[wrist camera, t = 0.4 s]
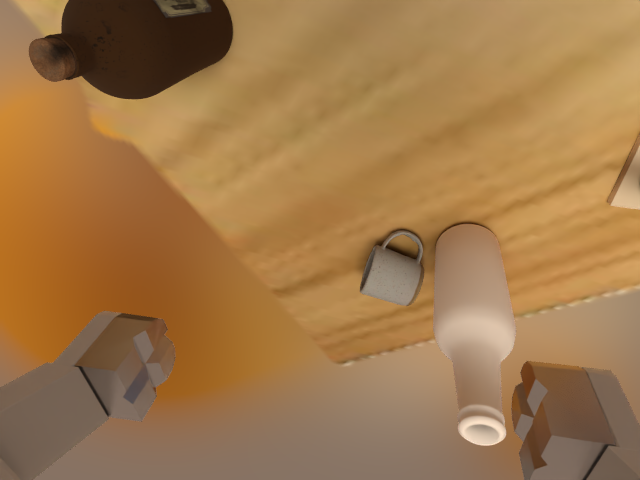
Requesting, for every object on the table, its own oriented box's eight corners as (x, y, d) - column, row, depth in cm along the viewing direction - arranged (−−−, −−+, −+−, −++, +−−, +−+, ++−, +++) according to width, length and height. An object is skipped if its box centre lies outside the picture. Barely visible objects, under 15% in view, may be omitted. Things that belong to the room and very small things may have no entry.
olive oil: (227, 82, 56) (103, 148, 35) (156, 47, 55) (-8, 93, 35) (247, -1, 49) (111, 21, 29) (168, -40, 49) (-25, -46, 29)
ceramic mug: (410, 288, 67) (407, 320, 61) (363, 271, 67) (355, 301, 61) (436, 237, 61) (435, 267, 55) (383, 219, 61) (377, 246, 55)
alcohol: (504, 264, 60) (544, 464, 36) (443, 274, 64) (443, 462, 40) (492, 214, 56) (528, 399, 32) (428, 228, 60) (418, 403, 36)
